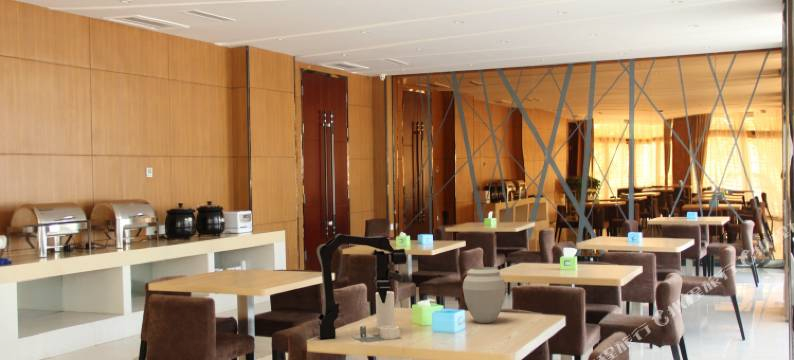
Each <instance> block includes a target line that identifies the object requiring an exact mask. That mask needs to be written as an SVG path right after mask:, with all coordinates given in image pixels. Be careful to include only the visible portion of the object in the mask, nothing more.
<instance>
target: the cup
mask: <svg viewBox="0 0 794 360" xmlns="http://www.w3.org/2000/svg"><path fill="white" fill-rule="evenodd" d="M375 309H376V310H375V311H376V329H378V330H380V327H382V326H396V310H395V309H396V308H395V292H394V291H389V290H388V291H387V295H386V300H385V303H382V301H381V298H380V296H379V293H378V291H377V292H375Z"/></svg>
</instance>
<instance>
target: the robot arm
mask: <svg viewBox="0 0 794 360" xmlns="http://www.w3.org/2000/svg"><path fill="white" fill-rule="evenodd" d="M342 244H345V245H346V244H348V245H358V246H366V247H371V248H375V249H374V250H372V252H370V255H372V256H375V277H374V286H375V288H376V290H377V292H378V293H379V296H380V298H381V301H382V303H385V300H386V295H387V291H389V290H390V289H391V287H392V282H391V280H393V281H396V282H398V283H401V281H402V278H403V274H401V273H400V271H399V270H397V269H395V270H393V271H392V270H391V268H390V264H391V265H393V266H394V265H395V266H396V265H397V266H398V265H406V264H407V261H408V259H407V254H406V251H405V250H406V249H405V248H398V249H397V248H396V249H395V248H394V247H392V245H391V241H390V239H389V238H388V237H387V236H382V235H377V236H359V235H349V234H343V233H337V234H336V235H334V237H332V238H331V239H329V240H328V241H327V242H325V243H322V244H319V246H318V247H317V248H316V255H317V258H318V261H319V264H320V266H321V267H320V268H321V278H322V279H321V280H322V290H323V291H322V292H323V302H322V309H321V310H322V312H321V314H320V315H319V316H318V317H317V318H316V320H317V322H318V324H317V331H318V332H317V333H318V336H317V338H318V340H319V341H320V340H321V341H324V340H325V341H326V340H333V339H334V340H335V339H337V338H336V336H337V335H336V327H335V321H336V320H337V319H338V318H339V314H340V313H341V311H340V309H339V308H340V303H339V302H337V301H336V300H335V297H334V287H333V285H334V284H333V283H334V282H333V274H332V262H333V256H334V252H335V251H337V250H338V248H339V247H340V246H341V245H342Z"/></svg>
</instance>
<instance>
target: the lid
mask: <svg viewBox="0 0 794 360" xmlns="http://www.w3.org/2000/svg"><path fill="white" fill-rule="evenodd" d="M359 330H360V334H354V335H351V337H352V338H353V339H355V340H357V341H359V340H362V339H372V338H375V337H374V336H372V335H373V334H370V333H367V326H366V325H361V326H359Z"/></svg>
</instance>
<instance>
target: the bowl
mask: <svg viewBox="0 0 794 360" xmlns="http://www.w3.org/2000/svg"><path fill="white" fill-rule="evenodd" d="M379 334H380V337H381V339H385V341H392V339H394V340H399V339H398V338H399V337H400V326H398V325H395V326H382V327H380V329H379Z"/></svg>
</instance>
